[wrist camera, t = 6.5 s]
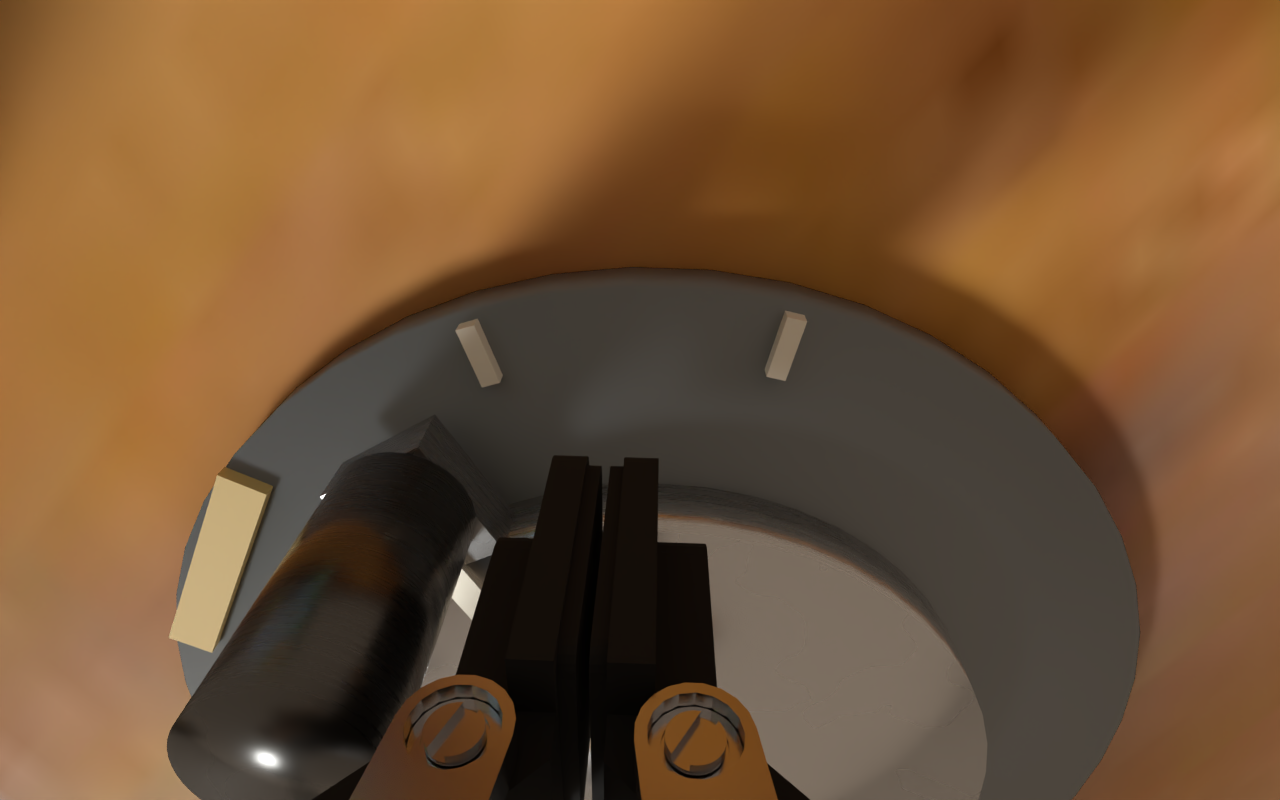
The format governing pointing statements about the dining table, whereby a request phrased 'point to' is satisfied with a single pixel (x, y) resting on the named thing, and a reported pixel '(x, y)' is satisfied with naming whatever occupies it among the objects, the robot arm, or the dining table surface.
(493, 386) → the dial plate
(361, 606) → the dial
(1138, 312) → the dining table surface
